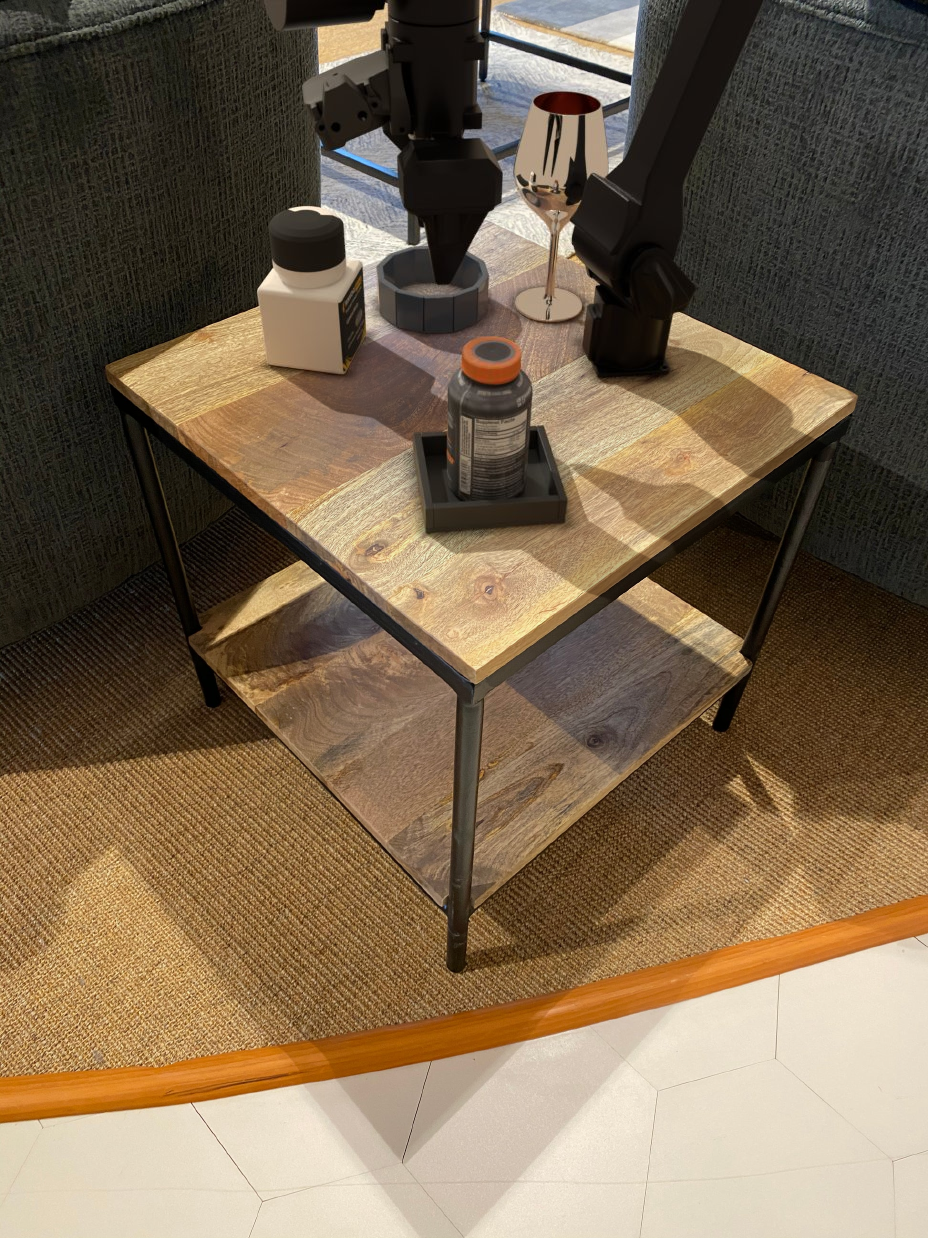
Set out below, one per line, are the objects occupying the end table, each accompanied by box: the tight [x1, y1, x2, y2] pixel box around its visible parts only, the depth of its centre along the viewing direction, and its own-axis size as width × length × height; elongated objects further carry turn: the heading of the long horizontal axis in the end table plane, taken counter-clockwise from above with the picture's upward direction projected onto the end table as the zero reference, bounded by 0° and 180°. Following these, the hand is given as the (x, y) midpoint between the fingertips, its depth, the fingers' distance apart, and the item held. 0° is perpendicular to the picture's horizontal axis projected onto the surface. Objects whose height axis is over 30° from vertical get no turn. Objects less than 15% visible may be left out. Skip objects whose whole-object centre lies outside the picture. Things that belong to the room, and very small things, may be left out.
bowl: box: [375, 245, 490, 334], centre depth 92 cm, size 10×10×4 cm
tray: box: [412, 424, 569, 534], centre depth 73 cm, size 10×9×2 cm
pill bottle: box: [446, 335, 534, 501], centre depth 70 cm, size 6×6×11 cm
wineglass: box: [512, 90, 609, 323], centre depth 87 cm, size 8×8×18 cm
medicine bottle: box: [256, 205, 367, 375], centre depth 83 cm, size 7×7×12 cm
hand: (433, 253), depth 73 cm, fingers open, 9 cm apart
